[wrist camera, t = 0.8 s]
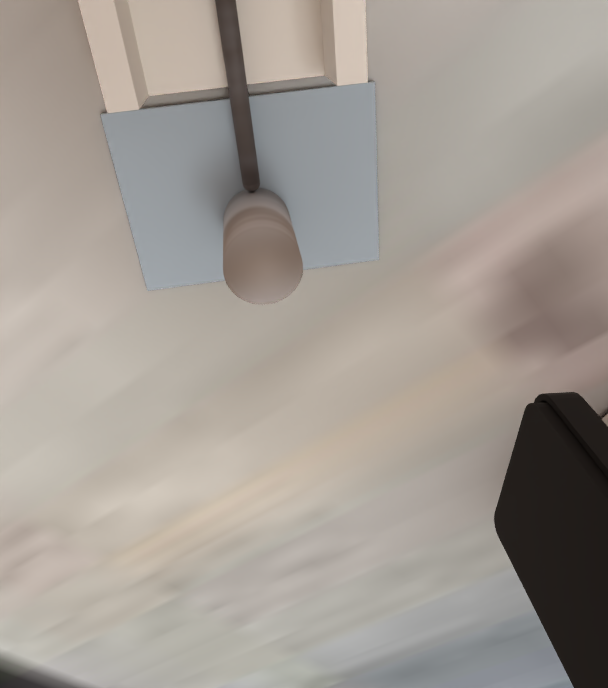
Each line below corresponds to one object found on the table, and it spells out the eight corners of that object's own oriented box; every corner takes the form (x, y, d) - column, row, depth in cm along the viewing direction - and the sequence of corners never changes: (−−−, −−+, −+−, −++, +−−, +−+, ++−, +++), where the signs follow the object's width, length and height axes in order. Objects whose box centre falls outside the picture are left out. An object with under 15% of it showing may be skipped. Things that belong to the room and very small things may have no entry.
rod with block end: (310, 244, 28) (327, 295, 24) (211, 258, 28) (208, 312, 23) (256, -350, 18) (267, -473, 13) (95, -337, 17) (47, -457, 13)
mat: (377, 257, 30) (379, 259, 30) (148, 288, 29) (147, 290, 29) (373, 81, 25) (375, 82, 25) (101, 113, 25) (100, 114, 24)
